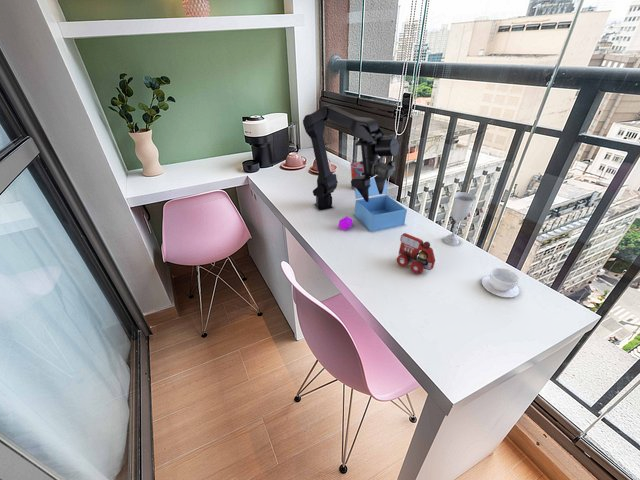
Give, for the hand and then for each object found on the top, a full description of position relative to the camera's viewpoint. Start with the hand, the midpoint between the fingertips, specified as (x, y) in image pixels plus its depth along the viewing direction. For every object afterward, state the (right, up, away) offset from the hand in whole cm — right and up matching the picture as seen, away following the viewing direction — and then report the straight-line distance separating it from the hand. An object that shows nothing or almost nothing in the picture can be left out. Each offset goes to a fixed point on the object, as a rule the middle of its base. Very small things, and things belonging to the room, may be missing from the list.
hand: (374, 197), depth 118 cm
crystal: (-10, -11, +5) cm, 16 cm away
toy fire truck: (+9, -26, -16) cm, 32 cm away
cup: (0, +13, +38) cm, 40 cm away
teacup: (+32, -32, -26) cm, 52 cm away
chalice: (+28, -17, -5) cm, 33 cm away
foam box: (+4, -7, +10) cm, 13 cm away
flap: (+1, +6, +10) cm, 12 cm away
